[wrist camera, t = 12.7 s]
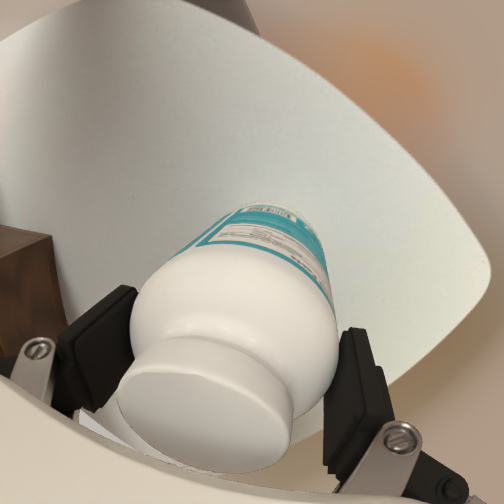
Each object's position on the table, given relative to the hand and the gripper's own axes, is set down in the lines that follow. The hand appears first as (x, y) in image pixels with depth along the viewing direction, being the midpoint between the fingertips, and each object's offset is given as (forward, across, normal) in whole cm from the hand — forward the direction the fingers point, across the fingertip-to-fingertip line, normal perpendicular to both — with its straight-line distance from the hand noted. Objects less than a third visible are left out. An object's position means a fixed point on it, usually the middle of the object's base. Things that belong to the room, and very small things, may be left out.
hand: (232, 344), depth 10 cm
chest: (+9, +26, +9) cm, 29 cm away
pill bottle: (+10, 0, 0) cm, 10 cm away
